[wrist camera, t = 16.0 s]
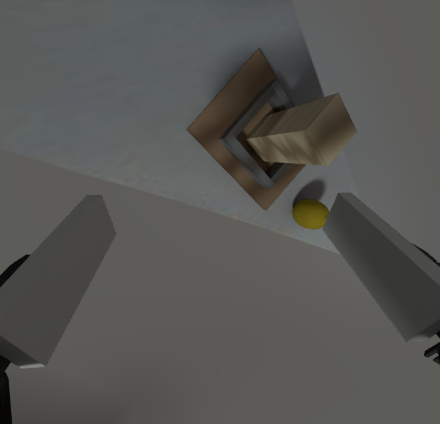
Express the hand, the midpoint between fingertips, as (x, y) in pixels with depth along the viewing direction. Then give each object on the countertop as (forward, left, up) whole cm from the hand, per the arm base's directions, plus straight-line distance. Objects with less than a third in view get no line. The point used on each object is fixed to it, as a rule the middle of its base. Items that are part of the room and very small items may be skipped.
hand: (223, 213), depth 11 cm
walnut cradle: (+7, +14, -22) cm, 27 cm away
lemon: (+23, +11, -22) cm, 33 cm away
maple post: (+7, +14, -21) cm, 26 cm away
